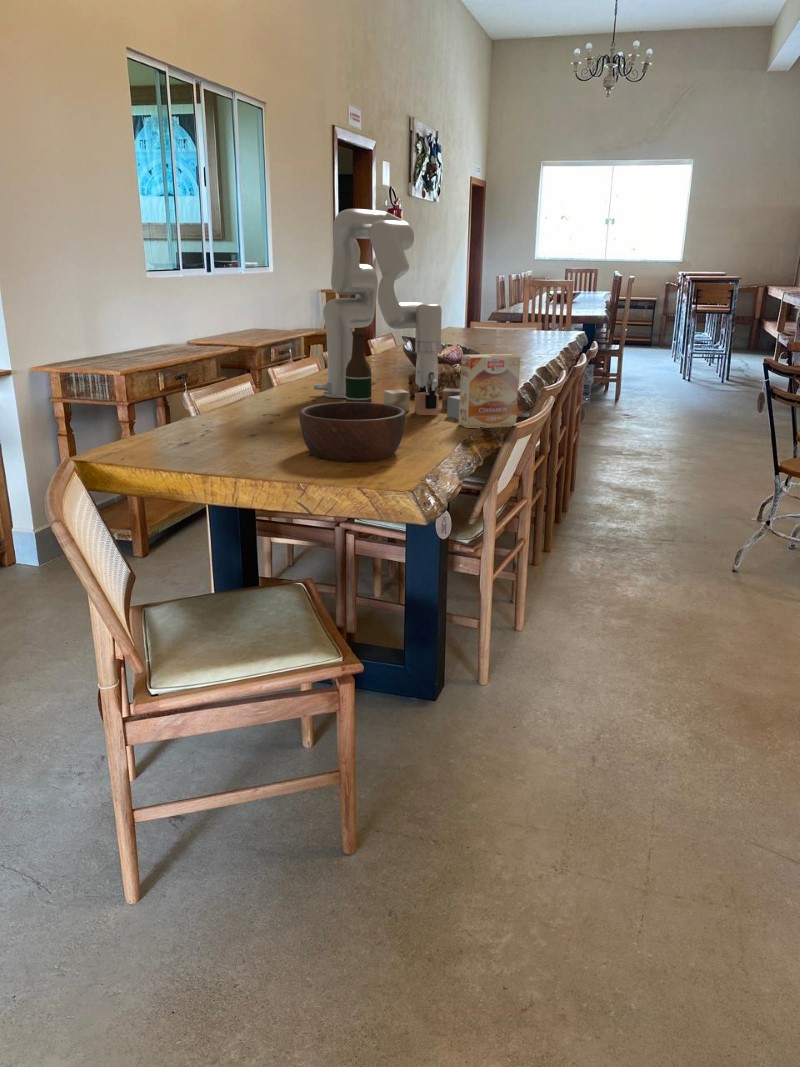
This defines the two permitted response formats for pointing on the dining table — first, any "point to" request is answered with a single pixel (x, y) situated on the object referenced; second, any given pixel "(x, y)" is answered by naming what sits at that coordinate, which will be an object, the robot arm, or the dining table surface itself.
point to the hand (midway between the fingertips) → (427, 405)
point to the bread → (446, 379)
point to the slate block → (453, 406)
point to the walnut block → (448, 393)
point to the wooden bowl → (352, 430)
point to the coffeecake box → (489, 390)
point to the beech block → (397, 398)
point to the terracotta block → (420, 405)
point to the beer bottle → (358, 372)
